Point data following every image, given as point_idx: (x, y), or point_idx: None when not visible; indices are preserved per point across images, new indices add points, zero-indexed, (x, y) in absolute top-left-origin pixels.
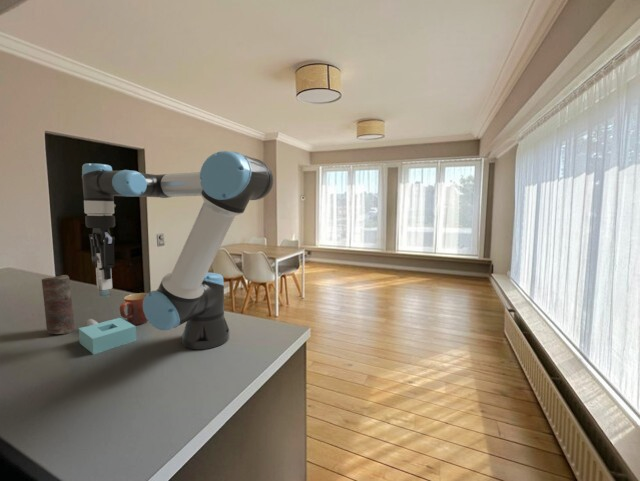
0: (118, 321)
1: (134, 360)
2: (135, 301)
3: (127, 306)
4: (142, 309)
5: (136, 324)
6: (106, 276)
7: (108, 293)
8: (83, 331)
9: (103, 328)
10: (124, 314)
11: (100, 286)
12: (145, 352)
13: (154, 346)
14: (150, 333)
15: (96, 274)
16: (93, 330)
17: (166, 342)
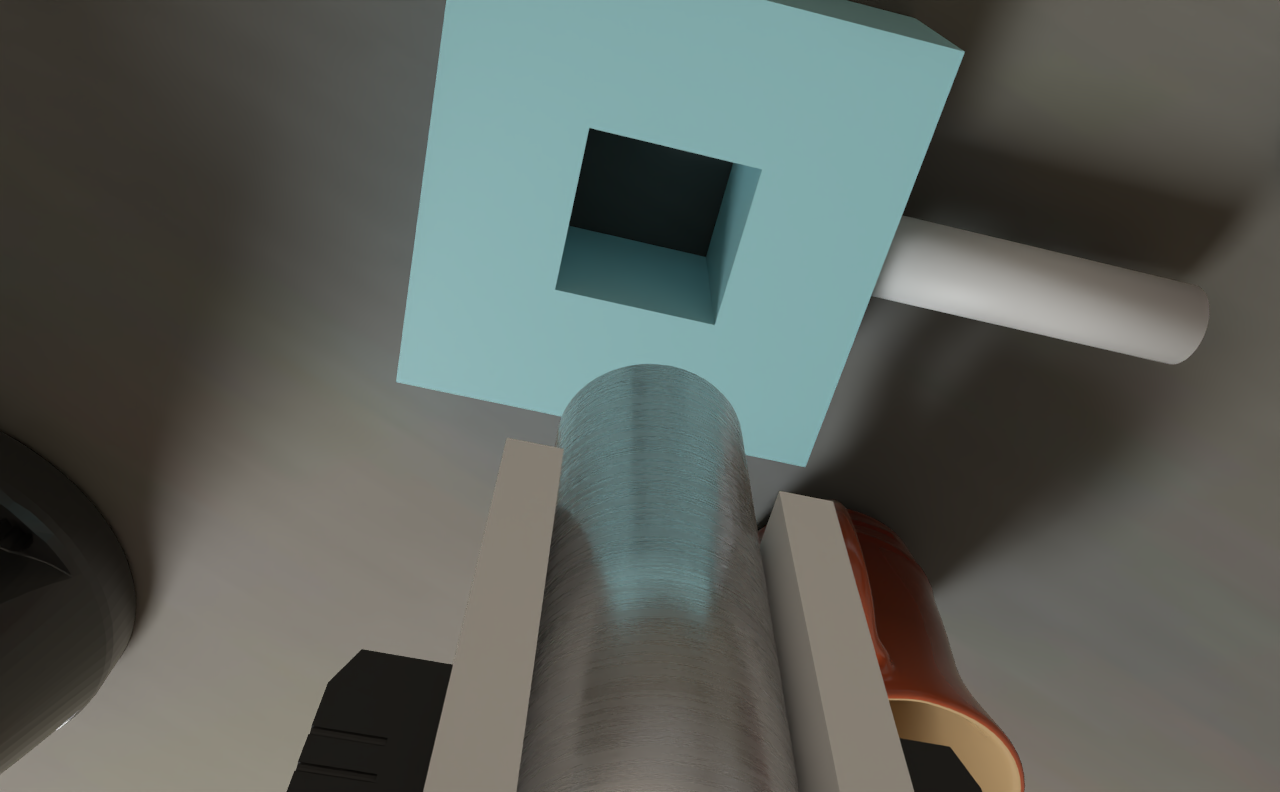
0: None
1: (4, 17)
2: None
3: (884, 637)
4: None
5: (765, 527)
6: (316, 739)
7: None
8: (803, 16)
9: (741, 224)
10: None
11: (621, 499)
12: (97, 178)
13: (158, 296)
14: (470, 459)
15: (885, 764)
16: (715, 94)
17: (152, 394)
